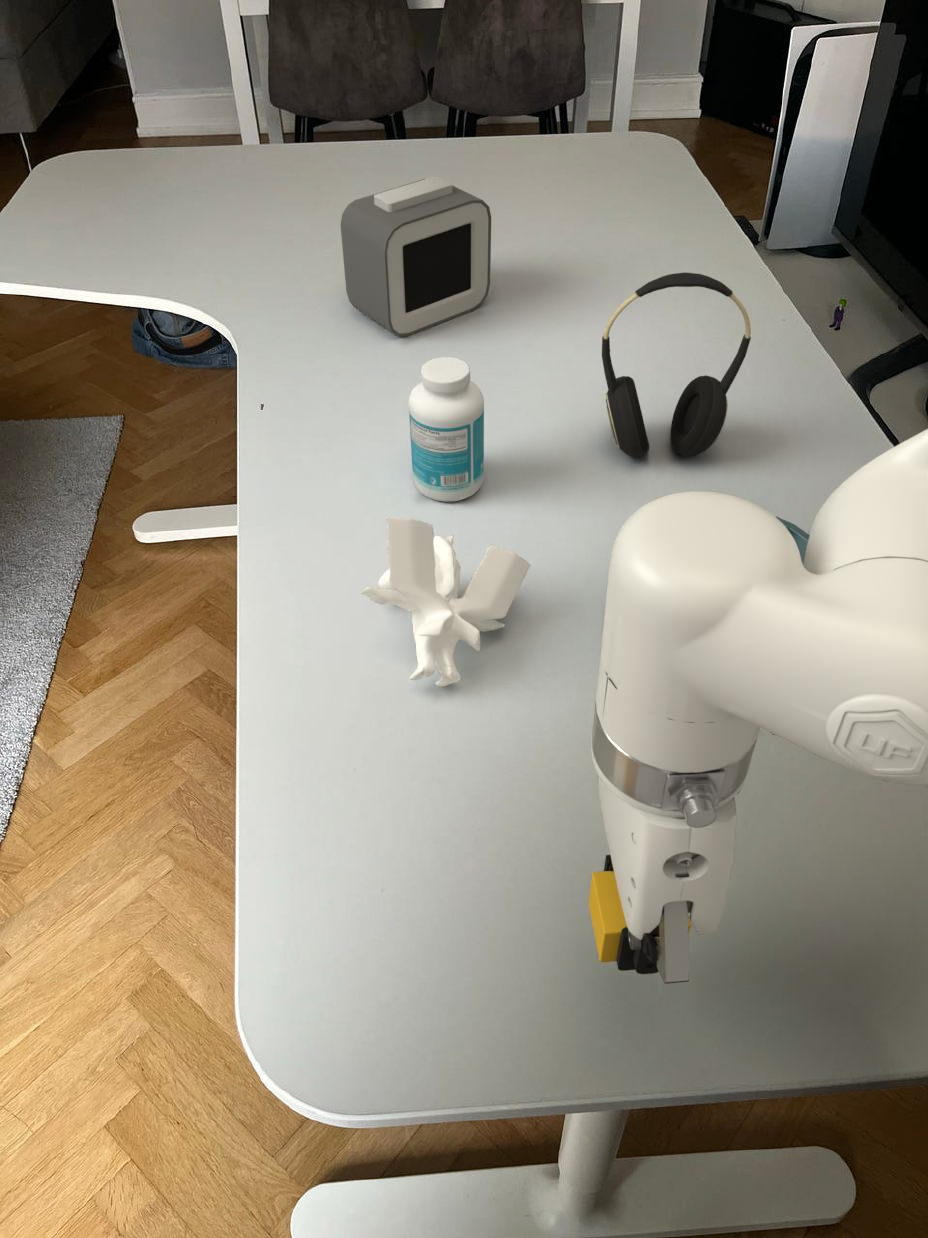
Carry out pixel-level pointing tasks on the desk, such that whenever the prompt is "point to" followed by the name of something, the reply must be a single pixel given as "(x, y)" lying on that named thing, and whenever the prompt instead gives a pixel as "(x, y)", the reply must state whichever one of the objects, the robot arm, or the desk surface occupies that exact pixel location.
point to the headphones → (698, 403)
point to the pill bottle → (447, 431)
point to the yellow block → (607, 914)
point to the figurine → (444, 593)
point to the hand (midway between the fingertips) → (635, 925)
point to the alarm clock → (417, 254)
